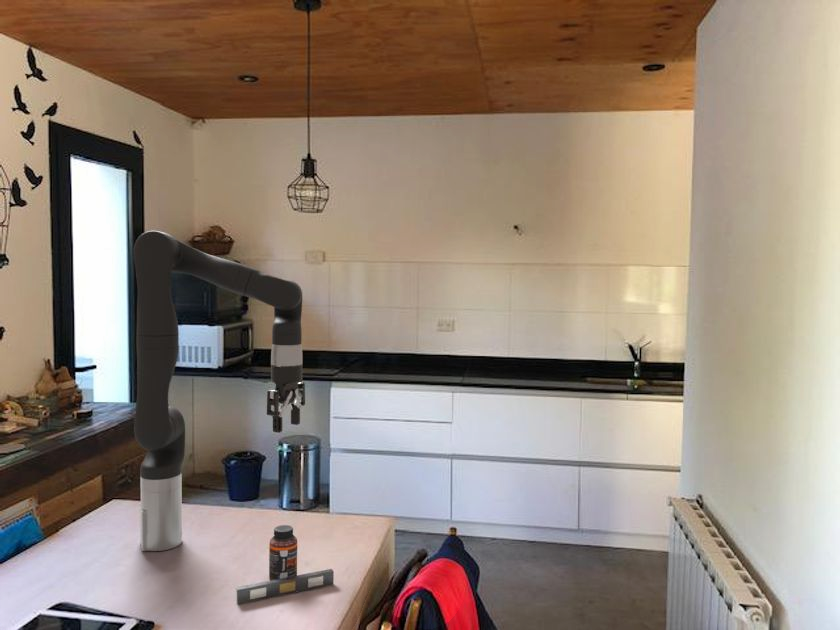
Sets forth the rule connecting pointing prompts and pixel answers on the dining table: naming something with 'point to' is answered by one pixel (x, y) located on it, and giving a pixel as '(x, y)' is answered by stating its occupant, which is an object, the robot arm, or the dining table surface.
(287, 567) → the supplement bottle
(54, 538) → the dining table surface
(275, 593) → the rail
